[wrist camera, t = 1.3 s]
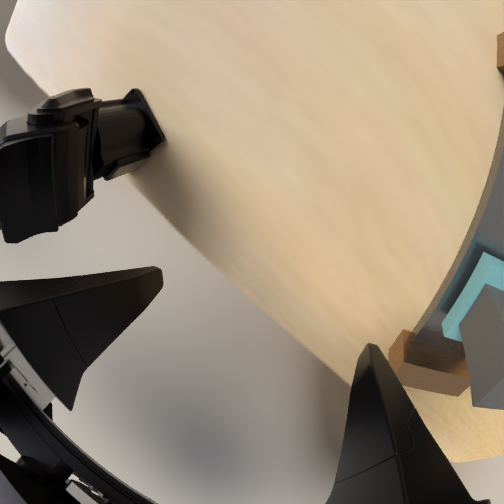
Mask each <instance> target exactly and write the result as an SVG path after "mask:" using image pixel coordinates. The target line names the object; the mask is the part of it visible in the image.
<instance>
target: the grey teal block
mask: <svg viewBox="0 0 504 504" xmlns="http://www.w3.org/2000/svg"><path fill="white" fill-rule="evenodd" d="M442 328H443V334H444V337H447V338H450V339H454V340H457V341H460V342H463V346H464V351H465V356H466V361H467V367H468V373H469V380H470V387H471V395H472V405H473V407H481V408H490V409H501V410H504V262H503V261H501V260H499V259H497V258H495V257H493V256H491V255H489V254H487V253H485V252H483V254H482V256H481V258H480V260H479V262H478V264H477V266H476V268H475V269H474V271H473V273H472V275H471V277H470V279H469V280H468V282H467V284H466V286H465V287H464V289H463V291H462V292H461V294H460V296H459V297H458V299H457V300H456V302H455V304H454V305H453V307H452V308H451V310H450V311H449V313H448V314H447V316H446V317H445V319H444V320H443V322H442Z"/></svg>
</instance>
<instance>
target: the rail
mask: <svg viewBox="0 0 504 504" xmlns="http://www.w3.org/2000/svg"><path fill="white" fill-rule="evenodd" d="M497 39H498V52H497V67H498V68H499V69H501V70H502V71H504V32H503V33H501V34H499V35H497ZM483 252H485V253H487V254H489V255H491V256H493V257H495V258H497V259H499V260H501V261H503V262H504V109H503V116H502V121H501V127H500V132H499V137H498V141H497V146H496V150H495V154H494V158H493V162H492V165H491V169H490V172H489V176H488V179H487V182H486V185H485V188H484V191H483V194H482V197H481V200H480V203H479V205H478V208H477V211H476V213H475V216H474V218H473V221H472V223H471V226H470V228H469V230H468V233H467V235H466V237H465V239H464V242H463V244H462V246H461V248H460V250H459V252H458V254H457V256H456V258H455V260H454V262H453V264H452V266H451V268H450V270H449V272H448V274H447V276H446V278H445V279H444V281H443V283H442V285H441V287H440V288H439V290H438V292H437V294H436V295H435V297H434V299H433V300H432V302H431V304H430V305H429V307H428V308H427V310H426V312H425V313H424V315H423V316H422V318H421V319H420V321H419V322H418V324H417V325H416V327H415V328H414V330H413V331H412V332H409V331H406V330H403V331H402V332H401V334H400V335H399V336H398V338H397V339H396V341H395V342H394V344H393V345H392V346H391V348H390V349H389V365H390V366H391V368H392V370H393V371H394V373H395V375H396V376H397V378H398V380H399V381H400V383H401V385H405V386H409V387H413V388H418V389H422V390H427V391H431V392H436V393H441V394H447V395H452V396H459V395H460V394H461V393H462V392H463V391H465V390H466V389H467V388H468V387H469V386H470V380H469V373H468V367H467V361H466V356H465V351H464V346H463V342H460V341H457V340H454V339H450V338H447V337H444V334H443V328H442V322H443V320H444V319H445V317H446V316H447V314H448V313H449V311H450V310H451V308H452V307H453V305H454V304H455V302H456V300H457V299H458V297H459V296H460V294H461V292H462V291H463V289H464V287H465V286H466V284H467V282H468V280H469V279H470V277H471V275H472V273H473V271H474V269H475V268H476V266H477V264H478V262H479V260H480V258H481V256H482V254H483Z"/></svg>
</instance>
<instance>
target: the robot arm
mask: <svg viewBox="0 0 504 504" xmlns="http://www.w3.org/2000/svg"><path fill="white" fill-rule="evenodd" d="M134 92H135V95H134ZM158 137H159V140H158ZM163 142H164V136H163V134H162V132H161V130H160V128H159V127H158V125H157V123H156V121H155V119H154V117H153V115H152V113H151V112H150V110H149V108H148V106H147V104H146V102H145V100H144V98H143V96H142V95H141V93H140V91H139V89H137V88H135V89H132V90H131V91H130V92H129V93H128V94H127V95H126V96H125V97H124V98H123V99H118V100H109V101H102V100H101V99H97V98H93V95H92V92H91V89H90V88H80V89H73V90H68V91H65V92H62V93H60V94H57V95H55V96H51V97H49V98H48V99H46V100H44V101H43V102H41V103H40V104H38V105H37V106H35V107H33V108H32V109H30V110H29V111H28V115H27V116H24V117H20V118H16V119H12V120H9V121H7V122H6V123H5V124H3V125H2V126H1V127H0V230H2V233H3V237H4V241H5V242H6V243H19V242H21V241H23V240H25V239H27V238H29V237H32V236H34V235H37V234H40V233H45V232H57V231H58V227H59V226H62V225H63V224H65V223H67V222H69V221H71V220H72V219H74V218H75V217H76V216H77V215H78V211H79V210H80V209H81V208H82V207H84V206H85V205H86V204H87V203H88V202H89V201H90V200H91V199H92V198H93V197H94V190H93V181H94V180H96V179H99V178H101V177H103V178H104V180H107V181H108V180H111V179H113V178H116V177H118V176H121V175H123V174H126V173H129V172H131V171H134V170H136V169H138V168H139V167H140V166H141V165H142V164H143V163H144V162H145V161H146V160H148V159H149V158H150V156H151V154H150V153H151V152H153V151H154V150H155V149H156V148H157V147H158V146H159V145H161V144H162V143H163ZM162 287H163V275H162V270H161V269H160V268H158V267H155V266H151V267H143V268H135V269H128V270H120V271H112V272H105V273H97V274H89V275H83V276H72V277H63V278H50V279H34V280H18V281H4V282H3V281H1V282H0V432H1V433H3V434H5V435H6V436H7V437H8V439H9V440H10V441H11V443H12V444H13V446H14V447H15V448H16V449H17V451H18V452H19V453H20V455H21V457H20V458H19V460H18V461H17V462H16V463H15V462H13V461H11V460H9V459H7V458H6V457H4V456H2V455H1V454H0V504H157V503H156V502H155V501H153V500H151V499H149V498H148V497H146V496H144V495H143V494H141V493H139V492H138V491H136V490H135V489H133V488H131V487H130V486H129V485H127V484H126V483H124V482H123V481H121V480H120V479H118V478H117V477H116V476H114V475H113V474H112V473H110V472H109V471H107V470H106V469H105V468H104V467H102V466H101V465H100V464H98V463H97V462H96V461H95V460H94V459H92V458H91V457H90V456H89V455H88V454H86V453H85V452H84V451H83V450H82V449H81V448H80V447H79V446H77V445H76V444H75V443H74V442H73V441H72V440H71V439H70V438H69V437H68V436H67V435H66V434H64V433H63V431H62V430H61V429H60V428H59V427H58V426H57V425H56V424H55V423H54V422H53V419H52V403H51V401H52V400H53V399H54V397H56V398H57V399H58V400H59V401H61V403H62V404H63V405H64V406H66V407H67V409H69V410H70V411H72V409H73V406H74V402H75V398H76V395H77V391H78V387H79V384H80V381H81V378H82V375H83V373H84V372H85V370H86V369H87V367H89V366H90V365H91V364H92V363H93V362H94V361H95V360H96V358H98V357H99V356H100V355H101V353H102V352H103V351H104V350H105V349H106V348H107V347H108V346H109V345H110V344H111V343H112V342H113V341H114V340H115V339H116V338H117V337H118V336H119V335H120V334H121V333H122V332H123V331H124V330H125V329H126V328H127V327H128V326H129V325H130V324H131V323H132V322H133V321H134V320H135V319H136V318H137V317H138V316H139V315H140V314H141V313H142V312H143V311H144V310H145V309H146V308H147V307H148V305H149V304H150V303H151V301H152V300H153V299H154V298H155V297H156V295H157V294H158V293H159V292H160V290H161V289H162ZM71 474H74V475H75V476H77V477H78V478H79V480H80V481H81V482H83V483H85V484H86V485H88V486H89V487H87V486H85V485H83V484H82V483H80V482H78V481H75V480H72V479H71V480H69V479H68V478H69V477H70V475H71ZM91 490H92V491H94V492H96V493H98V494H99V495H96V494H94V493H92V492H91ZM326 504H491V502H490V500H489V499H485V500H481V501H475V500H474V499H472V497H471V496H470V494H469V493H468V491H467V489H466V488H465V486H464V485H463V483H462V481H461V480H460V478H459V477H458V475H457V473H456V472H455V470H454V469H453V467H452V466H451V464H450V462H449V461H448V459H447V458H446V456H445V455H444V453H443V452H442V450H441V449H440V447H439V446H438V444H437V443H436V441H435V440H434V438H433V437H432V435H431V433H430V432H429V430H428V429H427V427H426V426H425V424H424V422H423V421H422V419H421V417H420V416H419V414H418V412H417V410H416V409H414V405H413V404H412V402H411V400H410V398H409V397H408V395H407V393H406V391H405V390H404V388H403V386H402V385H401V383H400V381H399V380H398V378H397V376H396V375H395V373H394V371H393V370H392V368H391V366H390V365H389V363H388V361H387V360H386V358H385V356H384V355H383V353H382V352H381V350H380V348H379V347H378V346H377V345H375V344H371V343H368V344H367V345H366V347H365V348H364V350H363V351H362V353H361V354H360V356H359V358H358V362H357V366H356V370H355V375H354V379H353V383H352V387H351V392H350V399H349V407H348V414H347V421H346V427H345V433H344V439H343V444H342V450H341V455H340V460H339V464H338V469H337V473H336V478H335V482H334V486H333V489H332V492H331V495H330V497H329V498H328V500H327V502H326Z"/></svg>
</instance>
